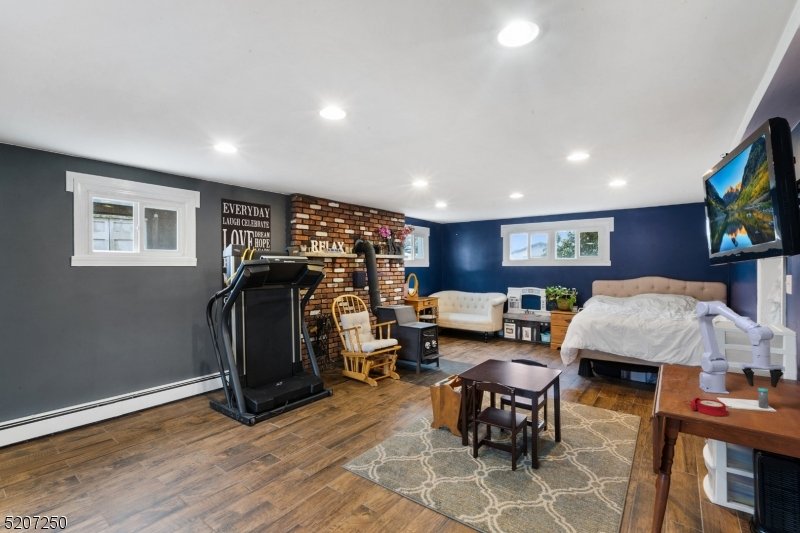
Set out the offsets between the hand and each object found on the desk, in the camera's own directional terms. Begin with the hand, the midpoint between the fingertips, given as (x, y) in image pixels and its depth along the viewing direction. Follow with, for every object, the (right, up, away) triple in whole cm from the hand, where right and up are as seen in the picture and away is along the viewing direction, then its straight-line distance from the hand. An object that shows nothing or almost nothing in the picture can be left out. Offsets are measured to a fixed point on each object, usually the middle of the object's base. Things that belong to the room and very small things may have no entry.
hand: (762, 386), depth 161 cm
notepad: (-4, -10, +4) cm, 11 cm away
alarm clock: (-24, -11, 0) cm, 27 cm away
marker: (0, -9, -1) cm, 9 cm away
